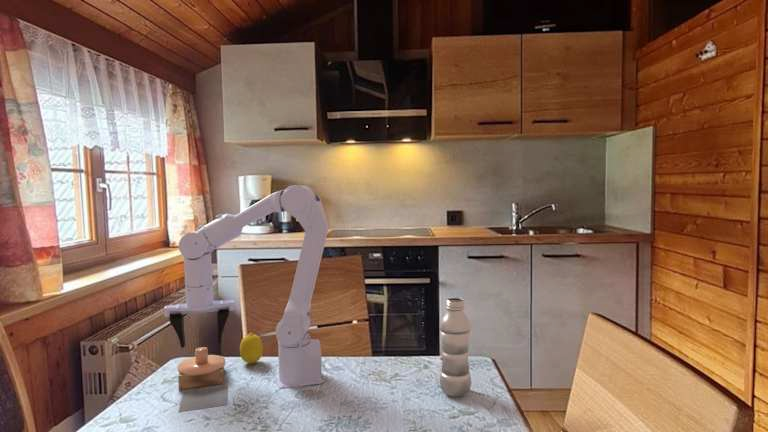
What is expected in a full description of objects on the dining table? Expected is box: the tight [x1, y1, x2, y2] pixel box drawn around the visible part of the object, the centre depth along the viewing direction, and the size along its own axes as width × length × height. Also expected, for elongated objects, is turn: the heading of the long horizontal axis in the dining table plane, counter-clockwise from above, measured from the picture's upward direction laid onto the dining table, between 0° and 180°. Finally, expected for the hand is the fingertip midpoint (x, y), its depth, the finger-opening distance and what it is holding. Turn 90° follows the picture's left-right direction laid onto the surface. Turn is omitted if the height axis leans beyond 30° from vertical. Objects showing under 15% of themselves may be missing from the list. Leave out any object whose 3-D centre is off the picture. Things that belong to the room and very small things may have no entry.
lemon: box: [239, 332, 264, 365], centre depth 113 cm, size 6×6×8 cm
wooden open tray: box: [177, 355, 225, 391], centre depth 104 cm, size 9×9×4 cm
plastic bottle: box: [439, 297, 472, 398], centre depth 96 cm, size 6×7×20 cm
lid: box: [177, 346, 226, 376], centre depth 104 cm, size 10×10×4 cm
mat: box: [178, 385, 229, 413], centre depth 95 cm, size 9×9×1 cm
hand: (201, 344), depth 104 cm, fingers open, 7 cm apart
